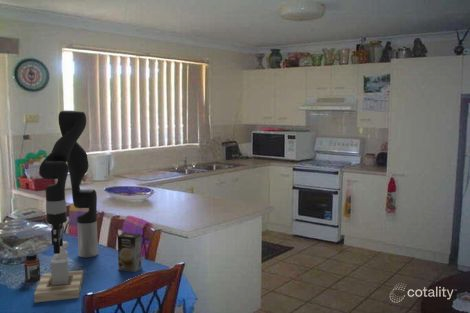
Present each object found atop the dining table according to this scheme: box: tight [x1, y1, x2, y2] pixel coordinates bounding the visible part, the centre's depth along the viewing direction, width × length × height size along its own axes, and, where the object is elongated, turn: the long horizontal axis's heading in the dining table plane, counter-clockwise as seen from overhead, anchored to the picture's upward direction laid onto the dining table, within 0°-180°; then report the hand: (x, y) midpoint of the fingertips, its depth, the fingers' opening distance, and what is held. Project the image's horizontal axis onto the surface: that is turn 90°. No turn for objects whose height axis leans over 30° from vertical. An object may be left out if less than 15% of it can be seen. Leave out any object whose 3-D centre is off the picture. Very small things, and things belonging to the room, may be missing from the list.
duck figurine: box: [52, 240, 69, 260], centre depth 208 cm, size 12×8×11 cm
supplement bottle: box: [23, 252, 41, 282], centre depth 187 cm, size 6×6×11 cm
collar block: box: [33, 269, 84, 303], centre depth 178 cm, size 20×16×4 cm
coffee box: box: [117, 232, 143, 273], centre depth 199 cm, size 9×6×16 cm
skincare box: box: [50, 258, 69, 285], centre depth 177 cm, size 6×4×12 cm
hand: (58, 249), depth 176 cm, fingers open, 8 cm apart
